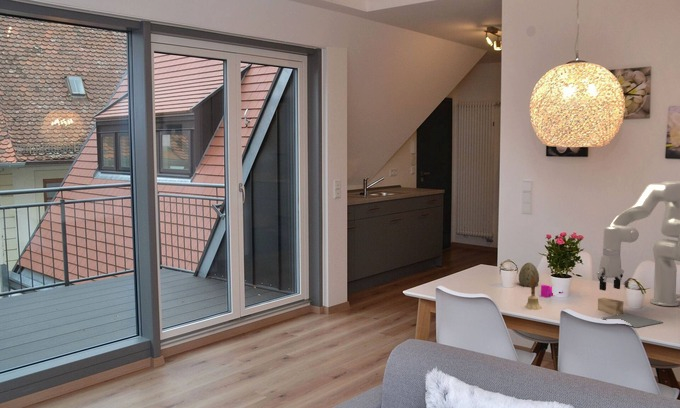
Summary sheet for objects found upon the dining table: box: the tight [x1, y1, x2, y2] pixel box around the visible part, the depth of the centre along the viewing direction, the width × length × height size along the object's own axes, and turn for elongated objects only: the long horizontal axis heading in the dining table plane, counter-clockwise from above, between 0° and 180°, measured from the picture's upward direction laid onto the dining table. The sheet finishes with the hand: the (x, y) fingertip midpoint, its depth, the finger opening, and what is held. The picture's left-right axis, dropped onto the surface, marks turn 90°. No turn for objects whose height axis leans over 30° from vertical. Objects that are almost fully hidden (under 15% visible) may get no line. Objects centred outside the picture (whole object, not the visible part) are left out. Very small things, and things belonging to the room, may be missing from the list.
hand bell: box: [524, 276, 543, 310], centre depth 297 cm, size 8×8×16 cm
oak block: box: [597, 297, 624, 315], centre depth 289 cm, size 5×10×6 cm, turn 28°
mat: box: [602, 312, 664, 329], centre depth 273 cm, size 18×18×1 cm
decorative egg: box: [518, 262, 540, 288], centre depth 340 cm, size 11×11×15 cm
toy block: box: [540, 284, 554, 299], centre depth 321 cm, size 15×6×8 cm, turn 131°
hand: (609, 289), depth 288 cm, fingers open, 9 cm apart
